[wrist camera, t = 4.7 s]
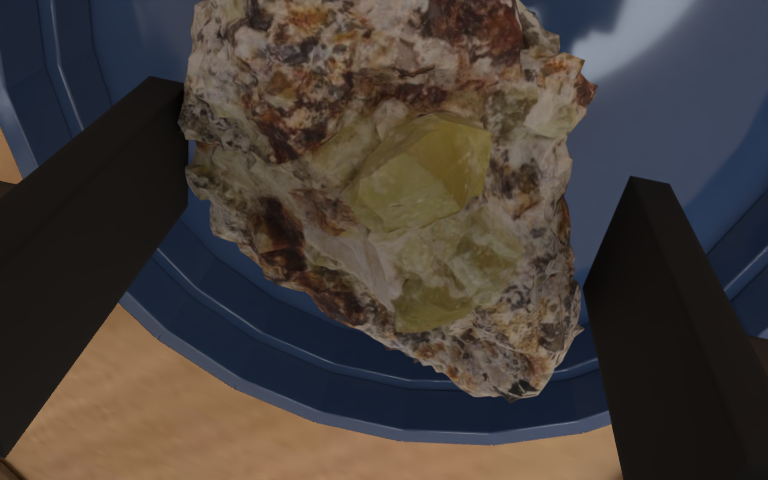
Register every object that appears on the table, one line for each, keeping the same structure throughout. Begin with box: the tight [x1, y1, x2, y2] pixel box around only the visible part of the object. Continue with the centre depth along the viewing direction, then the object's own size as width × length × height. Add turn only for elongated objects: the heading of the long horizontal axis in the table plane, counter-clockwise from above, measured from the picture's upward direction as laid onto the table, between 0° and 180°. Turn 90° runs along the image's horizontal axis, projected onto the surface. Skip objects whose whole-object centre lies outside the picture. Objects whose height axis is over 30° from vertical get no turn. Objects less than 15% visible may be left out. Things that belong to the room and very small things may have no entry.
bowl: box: [0, 0, 768, 445], centre depth 17 cm, size 22×22×4 cm
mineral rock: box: [178, 0, 598, 404], centre depth 13 cm, size 11×4×8 cm
